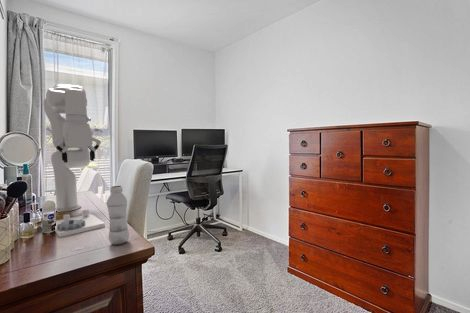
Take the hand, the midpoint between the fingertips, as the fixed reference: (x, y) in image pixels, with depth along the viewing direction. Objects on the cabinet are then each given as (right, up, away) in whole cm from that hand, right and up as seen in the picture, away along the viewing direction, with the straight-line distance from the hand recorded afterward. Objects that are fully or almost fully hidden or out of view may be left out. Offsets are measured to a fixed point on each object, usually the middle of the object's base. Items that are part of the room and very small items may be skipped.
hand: (79, 161), depth 107 cm
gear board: (-2, -28, +3) cm, 28 cm away
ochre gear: (-15, -27, +12) cm, 33 cm away
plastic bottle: (+24, -29, -17) cm, 41 cm away
